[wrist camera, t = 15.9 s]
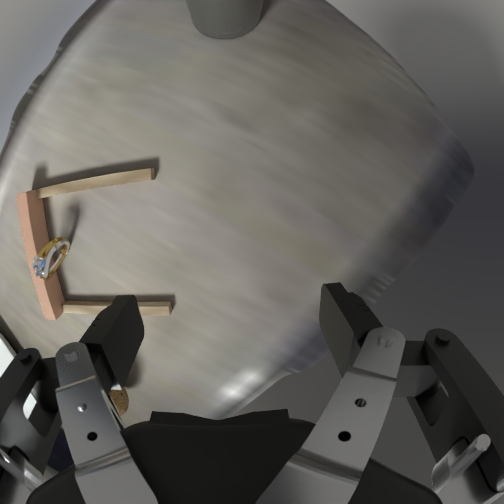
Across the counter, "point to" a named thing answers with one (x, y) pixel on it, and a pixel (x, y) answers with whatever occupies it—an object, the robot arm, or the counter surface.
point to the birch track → (96, 182)
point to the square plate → (3, 355)
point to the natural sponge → (120, 400)
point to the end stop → (34, 243)
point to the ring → (43, 263)
